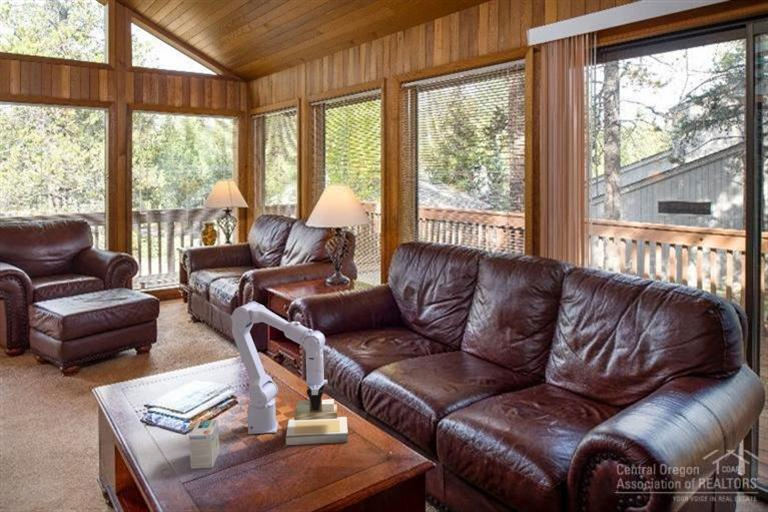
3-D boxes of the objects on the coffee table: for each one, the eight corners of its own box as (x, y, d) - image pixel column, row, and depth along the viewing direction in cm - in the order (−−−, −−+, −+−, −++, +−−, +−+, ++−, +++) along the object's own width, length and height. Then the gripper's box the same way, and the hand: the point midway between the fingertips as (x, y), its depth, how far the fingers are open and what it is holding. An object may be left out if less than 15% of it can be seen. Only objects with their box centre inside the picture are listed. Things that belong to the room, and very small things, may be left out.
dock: (286, 445, 187) (285, 437, 186) (289, 426, 201) (289, 419, 200) (347, 442, 189) (347, 434, 188) (346, 423, 202) (346, 416, 202)
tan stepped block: (294, 420, 189) (293, 403, 188) (295, 411, 196) (295, 394, 195) (337, 418, 190) (336, 401, 189) (337, 409, 197) (336, 393, 196)
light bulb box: (198, 452, 183) (196, 419, 181) (220, 451, 183) (218, 419, 182) (190, 469, 172) (188, 435, 171) (213, 468, 173) (211, 434, 171)
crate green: (297, 412, 190) (297, 405, 190) (298, 407, 194) (298, 400, 194) (309, 412, 191) (309, 404, 190) (310, 407, 195) (309, 400, 194)
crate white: (321, 411, 191) (321, 404, 191) (322, 406, 195) (322, 399, 195) (334, 411, 191) (333, 403, 191) (334, 406, 195) (333, 399, 195)
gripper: (326, 375, 184) (327, 416, 186) (327, 360, 198) (328, 398, 200) (304, 376, 183) (305, 417, 185) (306, 361, 198) (307, 399, 200)
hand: (316, 407), depth 193 cm, fingers closed on tan stepped block, 3 cm apart
